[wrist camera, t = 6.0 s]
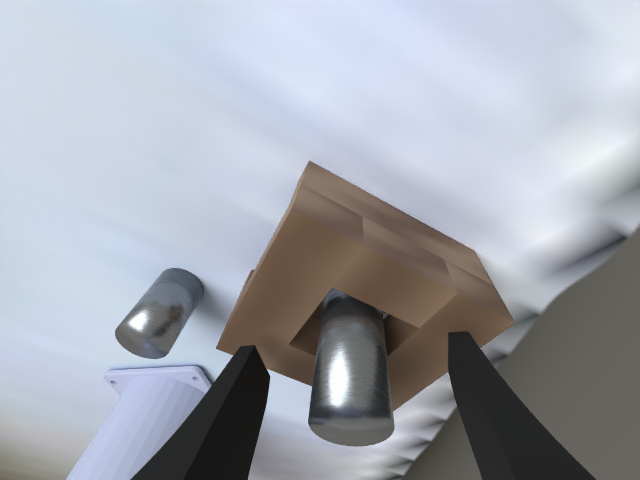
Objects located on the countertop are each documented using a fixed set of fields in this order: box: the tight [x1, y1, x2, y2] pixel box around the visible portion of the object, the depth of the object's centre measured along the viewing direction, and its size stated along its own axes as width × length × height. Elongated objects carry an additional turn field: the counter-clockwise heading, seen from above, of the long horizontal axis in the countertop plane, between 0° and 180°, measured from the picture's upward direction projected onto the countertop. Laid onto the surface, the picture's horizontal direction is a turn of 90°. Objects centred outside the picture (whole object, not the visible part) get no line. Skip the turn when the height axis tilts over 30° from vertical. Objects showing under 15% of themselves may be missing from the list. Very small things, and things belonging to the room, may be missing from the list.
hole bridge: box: [216, 161, 515, 411], centre depth 14 cm, size 9×8×4 cm
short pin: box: [115, 268, 204, 359], centre depth 16 cm, size 3×3×4 cm
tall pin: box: [308, 288, 394, 446], centre depth 13 cm, size 3×3×8 cm
